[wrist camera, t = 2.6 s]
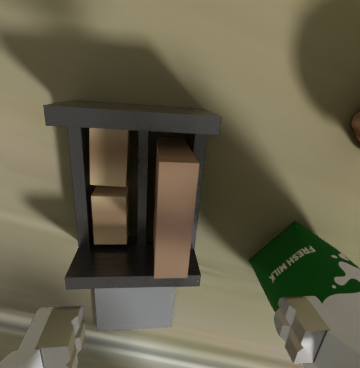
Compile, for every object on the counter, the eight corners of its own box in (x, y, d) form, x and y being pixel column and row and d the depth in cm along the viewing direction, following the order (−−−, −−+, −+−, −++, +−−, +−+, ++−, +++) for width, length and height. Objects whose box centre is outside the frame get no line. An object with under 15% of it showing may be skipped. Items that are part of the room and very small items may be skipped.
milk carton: (296, 210, 27) (620, 486, 8) (338, 253, 30) (645, 527, 11) (237, 261, 28) (396, 582, 10) (282, 297, 31) (468, 596, 13)
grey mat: (171, 322, 31) (171, 327, 30) (98, 326, 30) (97, 330, 29) (176, 258, 27) (177, 262, 27) (93, 259, 26) (92, 263, 26)
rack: (189, 245, 27) (199, 286, 21) (84, 245, 26) (66, 289, 20) (203, 109, 22) (221, 116, 16) (72, 100, 20) (43, 105, 15)
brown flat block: (177, 223, 26) (187, 277, 18) (153, 222, 25) (154, 278, 18) (184, 138, 23) (199, 163, 15) (156, 136, 22) (159, 161, 15)
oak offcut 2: (128, 230, 26) (126, 244, 23) (99, 230, 25) (94, 244, 23) (128, 186, 24) (126, 196, 22) (97, 185, 24) (91, 196, 21)
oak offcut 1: (128, 177, 24) (125, 187, 21) (96, 174, 23) (90, 184, 21) (130, 124, 22) (128, 129, 19) (96, 121, 21) (89, 125, 19)
